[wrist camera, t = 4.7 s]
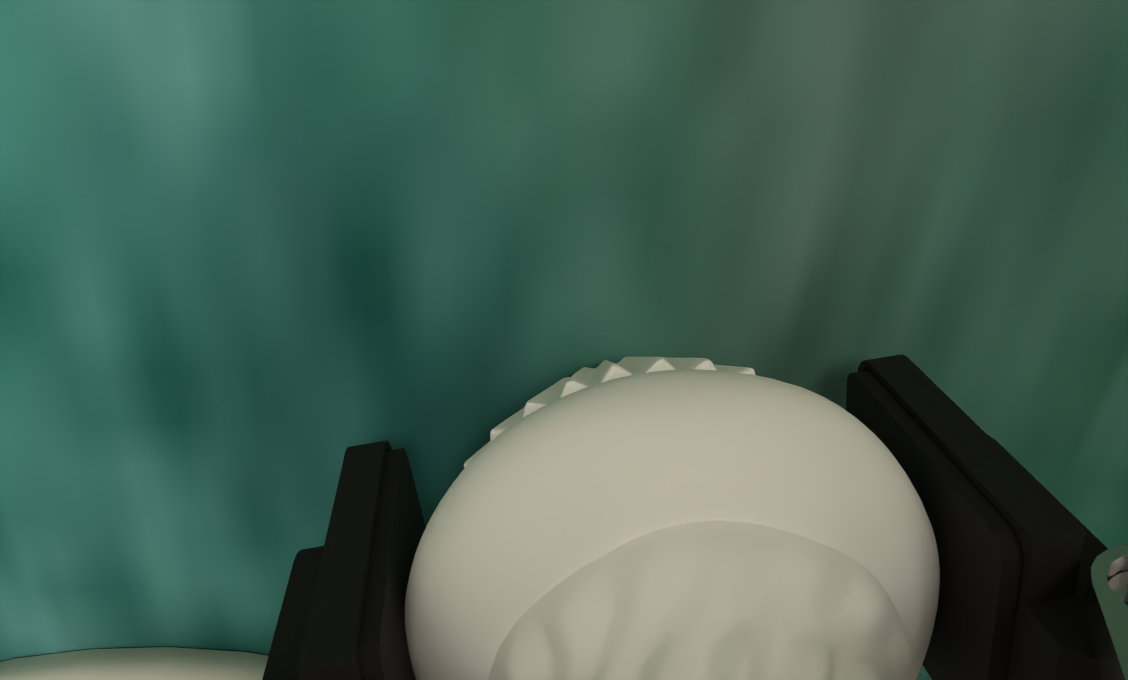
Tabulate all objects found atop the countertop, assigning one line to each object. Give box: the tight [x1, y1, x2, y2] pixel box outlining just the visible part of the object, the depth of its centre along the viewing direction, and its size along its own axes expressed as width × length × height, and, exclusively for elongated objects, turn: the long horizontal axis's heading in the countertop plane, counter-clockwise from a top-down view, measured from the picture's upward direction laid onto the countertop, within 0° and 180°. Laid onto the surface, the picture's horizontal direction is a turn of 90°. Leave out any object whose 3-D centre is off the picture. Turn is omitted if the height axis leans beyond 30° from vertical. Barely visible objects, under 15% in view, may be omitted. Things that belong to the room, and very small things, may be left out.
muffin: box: [405, 357, 940, 680], centre depth 10 cm, size 6×6×7 cm
